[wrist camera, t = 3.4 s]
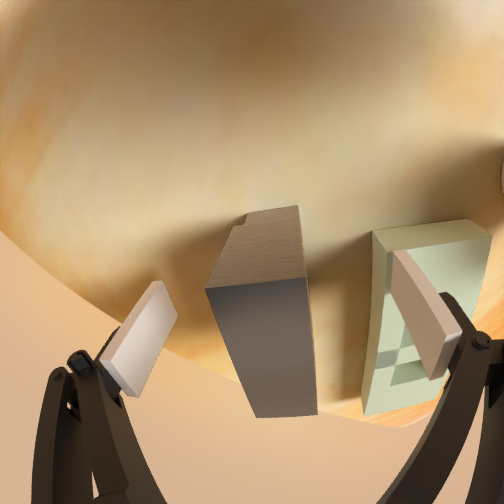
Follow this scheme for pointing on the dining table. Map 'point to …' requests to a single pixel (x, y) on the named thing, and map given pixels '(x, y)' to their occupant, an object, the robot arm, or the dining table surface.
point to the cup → (502, 178)
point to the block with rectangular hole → (389, 317)
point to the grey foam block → (267, 313)
